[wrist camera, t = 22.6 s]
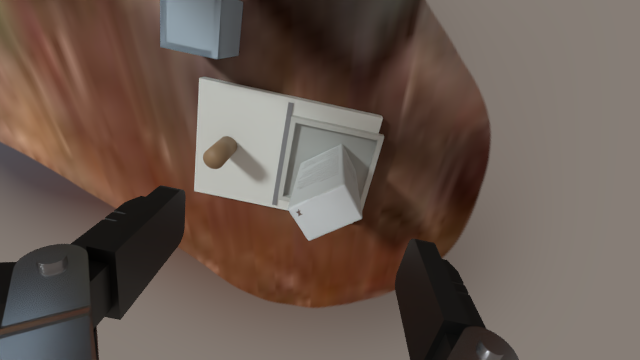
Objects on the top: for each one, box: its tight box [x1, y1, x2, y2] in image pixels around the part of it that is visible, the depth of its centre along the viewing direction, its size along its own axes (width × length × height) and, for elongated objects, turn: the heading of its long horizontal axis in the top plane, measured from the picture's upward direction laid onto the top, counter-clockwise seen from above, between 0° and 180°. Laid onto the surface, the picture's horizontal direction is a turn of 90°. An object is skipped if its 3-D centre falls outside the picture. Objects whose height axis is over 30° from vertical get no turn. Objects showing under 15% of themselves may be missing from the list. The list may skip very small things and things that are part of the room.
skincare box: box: [288, 144, 362, 241], centre depth 35 cm, size 6×4×12 cm
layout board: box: [194, 77, 384, 224], centre depth 39 cm, size 23×15×6 cm, turn 78°
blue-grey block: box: [160, 0, 243, 59], centre depth 33 cm, size 6×6×7 cm
